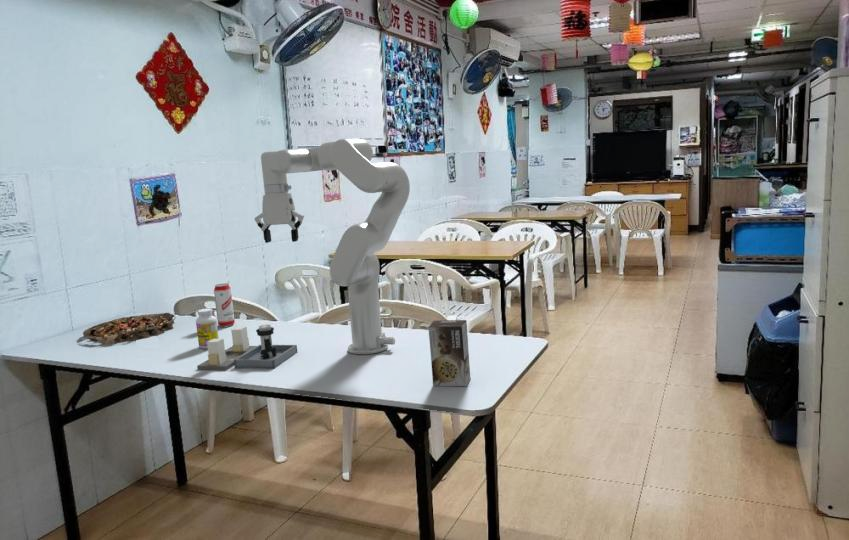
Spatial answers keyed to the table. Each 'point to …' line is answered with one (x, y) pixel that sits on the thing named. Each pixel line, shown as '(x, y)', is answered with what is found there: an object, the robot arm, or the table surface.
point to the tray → (252, 359)
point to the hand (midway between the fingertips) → (281, 241)
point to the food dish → (130, 328)
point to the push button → (266, 342)
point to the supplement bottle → (206, 327)
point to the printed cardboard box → (449, 353)
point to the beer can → (224, 305)
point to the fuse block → (219, 353)
